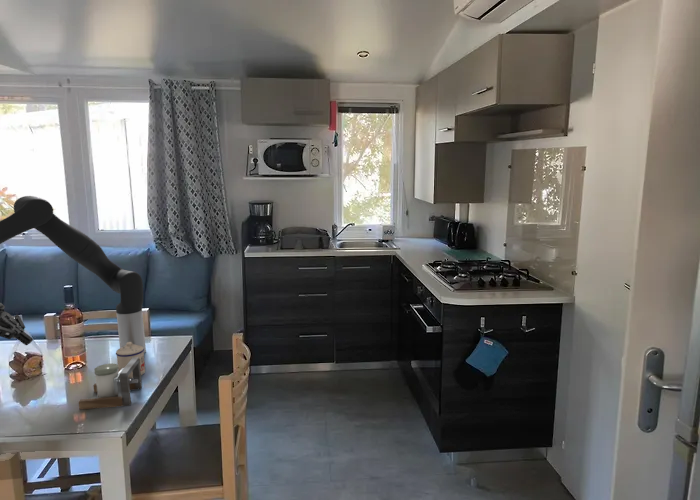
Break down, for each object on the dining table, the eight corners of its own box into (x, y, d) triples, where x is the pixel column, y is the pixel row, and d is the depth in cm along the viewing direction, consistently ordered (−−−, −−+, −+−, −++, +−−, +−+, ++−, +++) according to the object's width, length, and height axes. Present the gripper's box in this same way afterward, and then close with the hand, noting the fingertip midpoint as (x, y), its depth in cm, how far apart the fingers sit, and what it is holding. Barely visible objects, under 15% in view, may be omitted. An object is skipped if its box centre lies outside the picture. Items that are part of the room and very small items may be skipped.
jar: (101, 394, 157) (97, 364, 156) (123, 392, 158) (120, 362, 157) (94, 404, 151) (91, 372, 149) (118, 401, 152) (115, 370, 150)
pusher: (124, 389, 159) (122, 368, 158) (142, 388, 160) (140, 366, 159) (115, 401, 151) (113, 379, 150) (134, 400, 151) (132, 377, 150)
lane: (95, 390, 160) (92, 360, 158) (141, 387, 162) (139, 357, 160) (79, 409, 147) (75, 376, 146) (129, 405, 149) (126, 373, 148)
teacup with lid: (140, 378, 169) (137, 346, 167) (113, 379, 168) (110, 347, 166) (152, 365, 180) (150, 335, 179) (127, 366, 180) (124, 335, 178)
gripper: (-25, 302, 139) (27, 340, 142) (2, 291, 152) (48, 326, 155) (-42, 321, 139) (10, 359, 142) (-15, 308, 152) (32, 344, 155)
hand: (30, 342), depth 149 cm, fingers closed
